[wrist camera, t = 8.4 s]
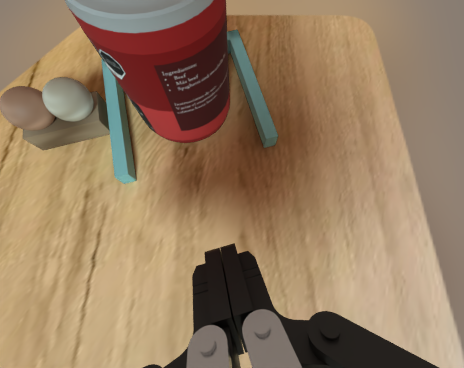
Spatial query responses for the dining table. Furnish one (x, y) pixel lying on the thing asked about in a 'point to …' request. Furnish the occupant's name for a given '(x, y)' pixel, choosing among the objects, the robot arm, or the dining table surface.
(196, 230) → the dining table surface
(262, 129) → the teal bay
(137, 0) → the canned food
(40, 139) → the egg holder with eggs
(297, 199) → the dining table surface
